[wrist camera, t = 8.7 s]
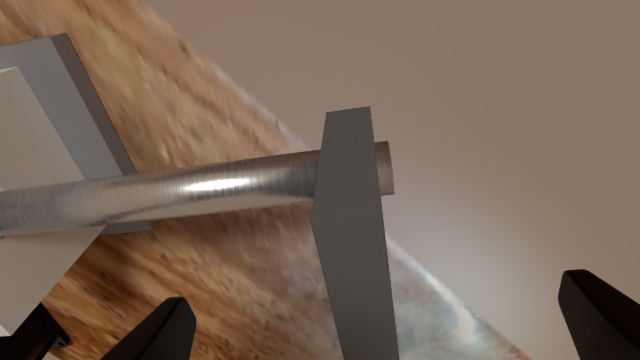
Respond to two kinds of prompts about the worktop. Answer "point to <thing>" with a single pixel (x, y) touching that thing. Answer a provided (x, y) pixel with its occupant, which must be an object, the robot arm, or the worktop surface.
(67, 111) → the bracket
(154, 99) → the worktop surface
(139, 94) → the worktop surface
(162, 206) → the shaft
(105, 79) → the worktop surface
